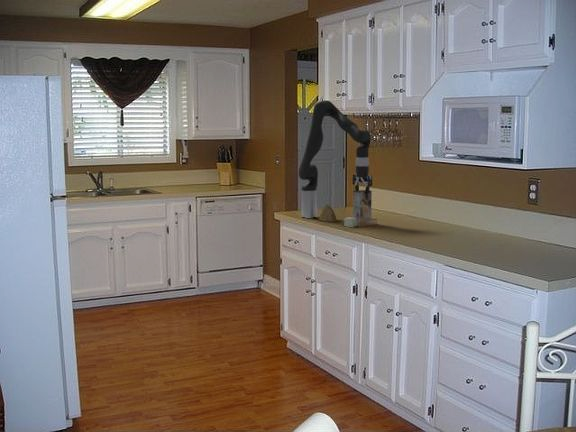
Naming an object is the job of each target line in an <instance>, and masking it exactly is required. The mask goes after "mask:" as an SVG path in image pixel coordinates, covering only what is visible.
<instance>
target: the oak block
mask: <svg viewBox="0 0 576 432" xmlns="http://www.w3.org/2000/svg"><path fill="white" fill-rule="evenodd" d="M377 224H378V218H376V217H372V216H371V218H365V219H357V225H358V226H357V227H367V225H368V226H374V225H377Z"/></svg>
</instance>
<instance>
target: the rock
mask: <svg viewBox="0 0 576 432" xmlns="http://www.w3.org/2000/svg"><path fill="white" fill-rule="evenodd" d="M319 220H324V221H323V222H337V217H336V213H335V211H334V210H333V208H332V207H331V205H329V204H325V206H324V207H323V209H322V211H321V214H320V215H319V219H318V221H319Z"/></svg>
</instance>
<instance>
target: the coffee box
mask: <svg viewBox="0 0 576 432" xmlns="http://www.w3.org/2000/svg"><path fill="white" fill-rule="evenodd" d="M352 194H353V196H352V198H353V199H352V205H353V206H352V218H357V219H365V218H371V217H372V194H373V193H372V190H369V194H366V189H362V190H360V189H359V191H355V190H353V192H352Z"/></svg>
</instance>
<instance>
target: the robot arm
mask: <svg viewBox="0 0 576 432" xmlns="http://www.w3.org/2000/svg"><path fill="white" fill-rule="evenodd" d="M324 117H330V118H332V119H334V120H335V121H336V123H337V125H338V126H339V128H340V129H341V130H343V131H344V132H346V133H347V134H348V135H349V136H350V138H351V139H352V140H354V142H356V143H358V144H359V146H358V147H357V148H356V150H355V153H356V155H355V156H356V157H355V173H354V174H352V186H353V185H354V191H359V190H360V186H359V185H360V184H361V183H362V184H363V185H364V186H365V190H366V194H369V191H370V189H371V188H370V187H372V186H373V176H372V175H369V173H370V159H369V149H370V145H371V141H372V140H371V139H372V136H371V133H370V131H369V130H365V129H364V130H363V129H362V130H361V129H359V126H358V125H357V123H355V122H354V121H352V120H351V119H349V118H348V117H347V116H346V115H345V114H343V112H341V110H339V108H338V107H337V106H336V105H335V104H333V102H331V101H330V100H320V101H317V102H315V104H314V107H313V111H312V118H311V124H310V130H309V133H308V137H307V141H306V146H305V150H304V153H303V156H302V159H301V163H300V165H299V168H298V177H299V178H300V179H301V180H303V181H304V180H305V181H306V180H307V181H306V183H305V184H303V185H302V186H301V203H300V210H301V211H300V214H301V215H300V216H302V217H305V218H304V219H314V218H313V217H316V218H317V217H318V215H317V214H318V206H317V203H318V201H317V196H318V195H317V194H318V193H317V188H318V178H319V176H318V175H319V174H318V173H319V171H318V168H317V166H316V165H315V164H311V162H312V160H313V159H314V158H315V156H317V154H318V153H319V152H320V151H321V148H322V146H323V142H324V133H323V128H322V125H323V120H324ZM302 217H301V218H302Z"/></svg>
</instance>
